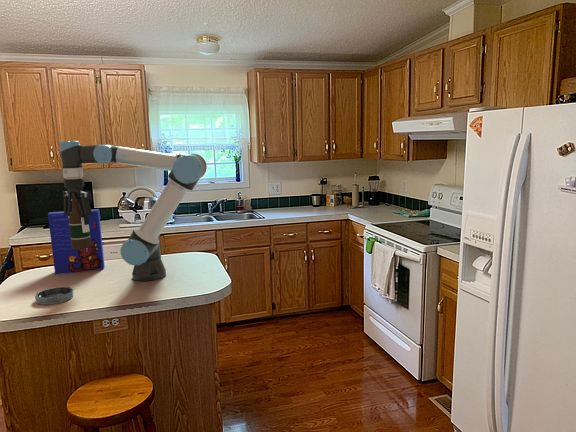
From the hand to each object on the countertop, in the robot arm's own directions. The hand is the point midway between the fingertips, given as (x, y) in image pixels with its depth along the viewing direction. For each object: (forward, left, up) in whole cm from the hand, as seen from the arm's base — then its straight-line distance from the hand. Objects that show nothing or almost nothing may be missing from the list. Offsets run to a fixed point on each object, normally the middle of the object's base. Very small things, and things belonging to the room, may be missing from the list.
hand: (79, 231), depth 181 cm
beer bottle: (0, 0, -7) cm, 7 cm away
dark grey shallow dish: (+4, +14, -25) cm, 29 cm away
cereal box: (+19, -24, -26) cm, 40 cm away
